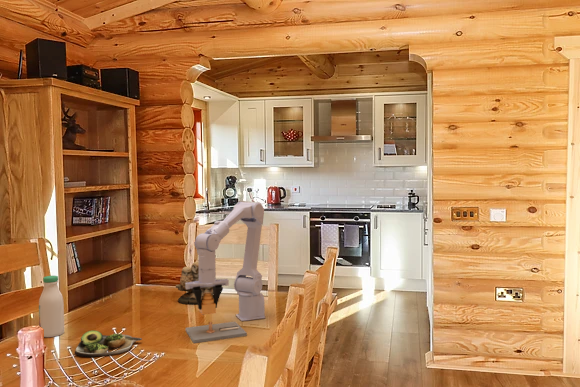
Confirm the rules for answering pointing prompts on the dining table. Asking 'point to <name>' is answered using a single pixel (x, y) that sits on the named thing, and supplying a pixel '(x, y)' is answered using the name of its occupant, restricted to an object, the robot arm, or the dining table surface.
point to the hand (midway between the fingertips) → (207, 308)
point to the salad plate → (103, 344)
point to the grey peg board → (215, 332)
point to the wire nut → (207, 304)
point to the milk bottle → (51, 308)
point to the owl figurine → (190, 276)
